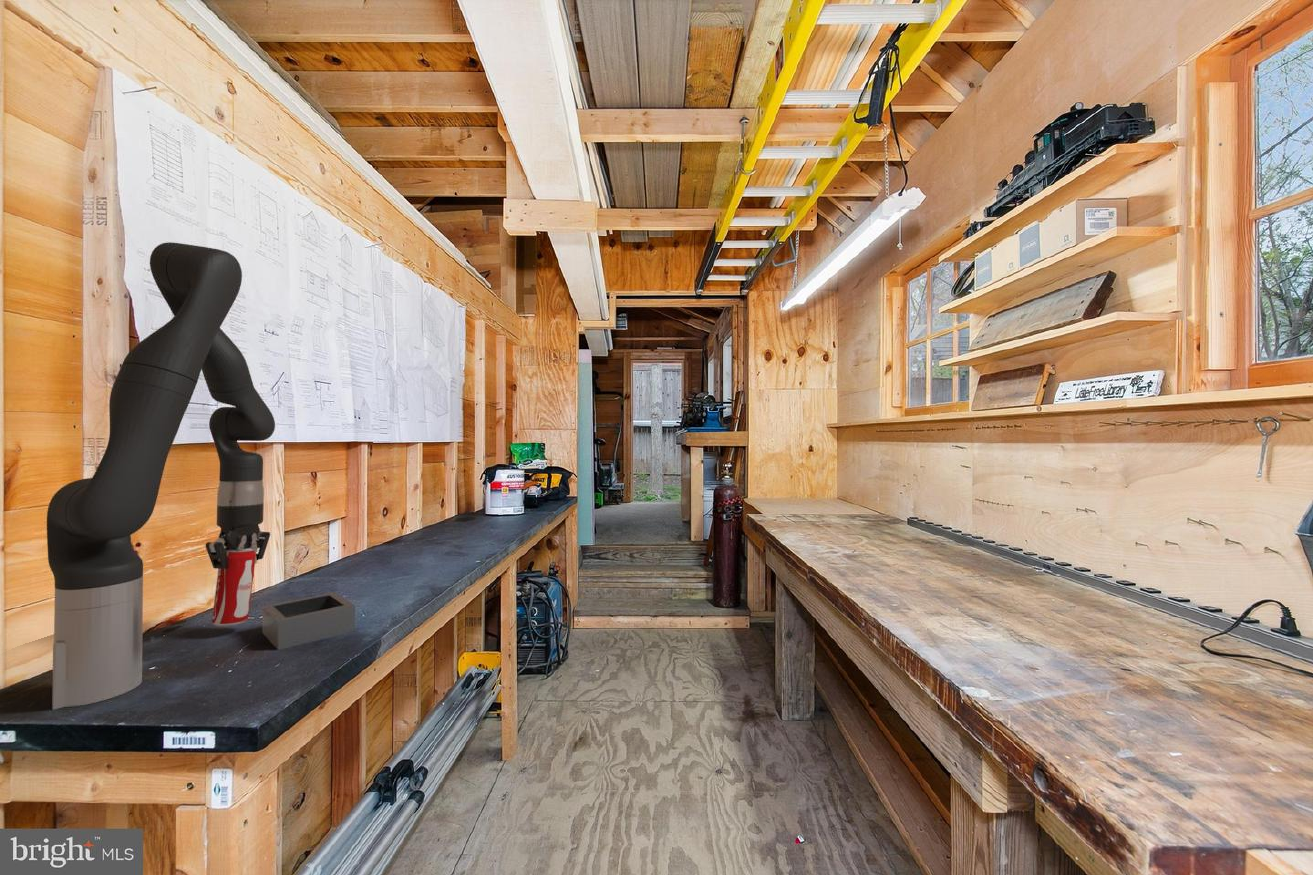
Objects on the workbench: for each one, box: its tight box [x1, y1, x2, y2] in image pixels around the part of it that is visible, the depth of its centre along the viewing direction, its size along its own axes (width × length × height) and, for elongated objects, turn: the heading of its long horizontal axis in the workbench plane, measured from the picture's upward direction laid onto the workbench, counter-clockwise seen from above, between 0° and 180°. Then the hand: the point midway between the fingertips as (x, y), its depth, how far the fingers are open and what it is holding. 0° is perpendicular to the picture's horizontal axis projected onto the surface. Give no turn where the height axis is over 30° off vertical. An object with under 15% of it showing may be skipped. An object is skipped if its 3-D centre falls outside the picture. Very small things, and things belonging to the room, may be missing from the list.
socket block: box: [261, 591, 356, 651], centre depth 104 cm, size 13×13×6 cm
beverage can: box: [211, 548, 257, 627], centre depth 103 cm, size 6×6×15 cm
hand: (238, 584), depth 105 cm, fingers closed on beverage can, 3 cm apart
